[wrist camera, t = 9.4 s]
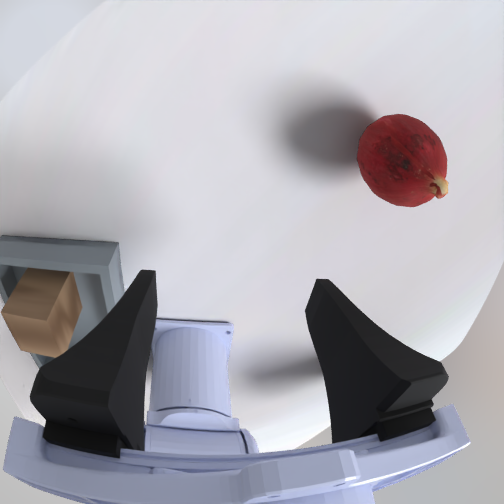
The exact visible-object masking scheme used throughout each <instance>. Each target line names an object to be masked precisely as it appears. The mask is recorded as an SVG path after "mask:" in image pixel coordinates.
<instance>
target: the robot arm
mask: <svg viewBox="0 0 504 504" xmlns="http://www.w3.org/2000/svg"><path fill="white" fill-rule="evenodd" d="M157 306H158V305H157V289H156V271H154V270H141V271H140V272H139V273H138V275H137V276H136V278H135V279H134V281H133V282H132V284H131V285H130V286H129V288H128V289H127V291H126V292H125V293H124V295H123V296H122V297H121V298H120V300H119V301H118V302H117V304H116V305H115V306H114V307H113V308H112V309H111V311H110V312H109V313H108V314H107V315H106V316H105V317H104V318H103V320H102V321H101V322H100V323H99V324H98V325H97V326H96V327H95V328H94V329H93V330H91V331H90V332H89V333H88V334H87V335H86V336H85V337H84V338H82V339H81V340H80V341H79V342H78V343H76V344H75V345H74V346H72V347H71V348H70V349H68V350H67V351H65V352H64V353H63V354H61V355H60V356H58V357H56V358H55V359H53V360H51V361H50V362H48V363H46V364H45V365H43V366H41V367H40V369H39V371H38V373H37V375H36V378H35V381H34V384H33V387H32V391H31V394H30V400H31V402H32V404H33V405H34V407H35V408H36V409H37V410H38V412H39V413H40V414H41V415H42V416H43V417H44V418H45V419H46V424H45V427H43V426H42V425H40V424H38V423H35V422H32V421H28V420H25V419H22V418H19V417H14V420H13V424H12V427H11V432H10V436H9V440H8V445H7V450H6V455H5V460H4V466H3V470H4V471H5V472H6V473H8V474H10V475H11V476H13V477H15V478H17V479H18V480H20V481H22V482H24V483H26V484H28V485H30V486H32V487H34V488H37V489H39V490H42V491H45V492H48V493H51V494H54V495H57V496H60V497H64V498H67V499H70V500H74V501H77V502H81V503H85V504H375V500H374V497H373V493H372V492H374V491H377V490H379V489H382V488H385V487H387V486H390V485H392V484H395V483H397V482H400V481H402V480H405V479H407V478H409V477H411V476H414V475H416V474H418V473H421V472H423V471H425V470H427V469H429V468H431V467H433V466H436V465H437V464H440V463H441V462H443V461H445V460H446V459H448V458H449V457H451V456H453V455H454V454H455V453H457V452H459V451H460V450H462V449H463V448H465V447H466V446H467V445H469V444H470V439H469V437H468V435H467V432H466V430H465V428H464V426H463V424H462V421H461V419H460V417H459V415H458V413H457V411H456V409H455V407H454V405H453V404H450V405H448V406H445V407H442V408H440V409H437V410H436V411H434V412H432V409H431V407H432V406H433V402H432V398H433V397H434V396H435V395H436V394H437V393H438V392H439V391H440V390H441V389H442V388H443V387H444V386H445V384H446V383H447V381H448V377H449V376H448V374H447V373H446V371H445V369H444V367H443V365H442V363H441V362H439V361H437V360H434V359H432V358H430V357H427V356H425V355H423V354H421V353H419V352H417V351H415V350H413V349H411V348H410V347H408V346H406V345H405V344H403V343H401V342H400V341H398V340H397V339H395V338H394V337H392V336H391V335H389V334H388V333H387V332H385V331H384V330H383V329H381V328H380V327H379V326H378V325H376V324H375V323H374V322H373V321H372V320H371V319H369V318H368V317H367V316H366V315H365V314H364V313H363V312H362V311H361V310H360V309H358V308H357V307H356V306H355V305H354V304H353V303H352V302H351V301H350V300H349V299H348V298H347V297H346V296H345V295H344V294H343V293H342V292H341V291H340V290H339V289H338V288H337V287H336V286H335V285H334V284H333V283H332V282H331V281H330V280H329V279H316V282H315V285H314V288H313V290H312V293H311V296H310V298H309V301H308V304H307V307H306V309H305V313H306V319H307V324H308V329H309V332H310V335H311V339H312V342H313V345H314V348H315V350H316V353H317V356H318V359H319V362H320V365H321V369H322V372H323V376H324V381H325V386H326V391H327V397H328V404H329V411H330V419H331V430H332V444H328V445H322V446H316V447H310V448H303V449H295V450H287V451H277V452H266V453H259V450H258V446H257V443H256V441H255V439H254V437H253V436H252V435H251V434H250V433H249V431H248V430H246V429H240V428H239V419H238V418H232V411H231V400H230V389H229V378H228V367H227V365H228V359H229V354H230V348H231V342H232V336H233V330H234V327H233V324H231V323H213V322H191V321H174V320H159V319H156V316H157ZM151 347H152V354H153V360H154V362H153V371H152V382H151V393H150V406H149V411H147V425H145V421H144V399H145V381H146V371H147V365H148V360H149V355H150V350H151Z"/></svg>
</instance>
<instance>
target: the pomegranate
mask: <svg viewBox="0 0 504 504" xmlns="http://www.w3.org/2000/svg"><path fill="white" fill-rule="evenodd" d="M357 161H358V165H359V168H360V172H361V175H362V177H363V179H364V181H365V182H366V183H367V185H368V186H369V188H370V189H371V190H372V192H373V193H374V194H376V195H377V196H378V197H380V198H382V199H383V200H385V201H387V202H389V203H391V204H394V205H397V206H405V207H416V206H419V205H421V204H423V203H426V202H428V201H430V200H431V199H432V198H433V197H434V196H436V197H437V198H438V199H439V198H442V197H444V196H445V195H446V194H447V193H448V182H447V181H446V180H445V177H446V174H447V156H446V153H445V150H444V147H443V145H442V142H441V140H440V138H439V137H438V136H437V135H436V134H435V133H434V132H433V131H432V130H431V129H430V128H429V127H428V126H427V125H426V124H425V123H423V122H422V121H420V120H419V119H416V118H413V117H410V116H408V115H403V114H395V115H387V116H383V117H381V118H380V119H378V120H377V121H375V122H374V123H372V124H370V125H369V126H368V127H367V128H366V130H365V131H364V133H363V135H362V136H361V138H360V139H359V147H358V153H357Z"/></svg>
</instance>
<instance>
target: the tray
mask: <svg viewBox="0 0 504 504" xmlns="http://www.w3.org/2000/svg"><path fill="white" fill-rule="evenodd" d="M28 267H29V268H38V269H48V270H58V271H68V272H73V273H74V277H75V281H76V285H77V289H78V292H79V296H80V300H81V303H82V307H83V308H82V310H81V313H80V315H79V318H78V321H77V324H76V326H75V329H74V332H73V335H72V338H71V341H70V344H69V347H68V349H70V348H71V347H72V346H74V345H75V344H76V343H78V342H79V341H80V340H81V339H82V338H84V337H85V336H86V335H87V334H88V333H89V332H90V331H91V330H93V329H94V328H95V327H96V326H97V325H98V324H99V323H100V322H101V321H102V320H103V318H104V317H105V316H106V315H107V314H108V313H109V312H110V311H111V309H112V308H113V307H114V306H115V305H116V304H117V302H118V301H119V300H120V298H121V297H122V296H123V295H124V293H125V291H124V285H123V277H122V270H121V262H120V253H119V243H115V242H99V241H83V240H67V239H51V238H35V237H19V236H3V235H2V236H1V237H0V294H1V296H2V298H3V301H4V303H5V304H6V302H7V300H8V299H9V297H10V295H11V294H12V292H13V290H14V289H15V287H16V285H17V284H18V282H19V280H20V279H21V277H22V276H23V274H24V273H25V271H26V269H27V268H28ZM30 354H31V356H32V357H33V359H34V361H35V362H36V364H37V366H38V367H39V369H40V367H41V366H43V365H45V364H46V363H48V362H50V361H51V360H53V359H55V358H54V357H49V356H44V355H40V354H35V353H30Z"/></svg>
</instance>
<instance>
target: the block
mask: <svg viewBox="0 0 504 504" xmlns="http://www.w3.org/2000/svg"><path fill="white" fill-rule="evenodd" d="M82 308H83V307H82V303H81V300H80V296H79V292H78V289H77V285H76V281H75V277H74V273H73V272H68V271H58V270H48V269H38V268H29V267H28V268H27V269H26V271H25V273H24V274H23V276H22V277H21V279H20V280H19V282H18V284H17V285H16V287H15V289H14V290H13V292H12V294H11V295H10V297H9V299H8V300H7V302H6V304H5V306H4V307H3V309H2V311H1V314H2V316H3V318H4V320H5V322H6V324H7V326H8V328H9V330H10V331H11V333H12V335H13V337H14V339H15V341H16V342H17V344H18V346H19V348H20V349H21V350H22V351H26V352H30V353H35V354H40V355H44V356H49V357H54V358H56V357H58V356H60V355H61V354H63V353H64V352H65V351H67V350H68V347H69V344H70V341H71V338H72V335H73V332H74V329H75V326H76V324H77V321H78V318H79V315H80V313H81V310H82Z"/></svg>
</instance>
